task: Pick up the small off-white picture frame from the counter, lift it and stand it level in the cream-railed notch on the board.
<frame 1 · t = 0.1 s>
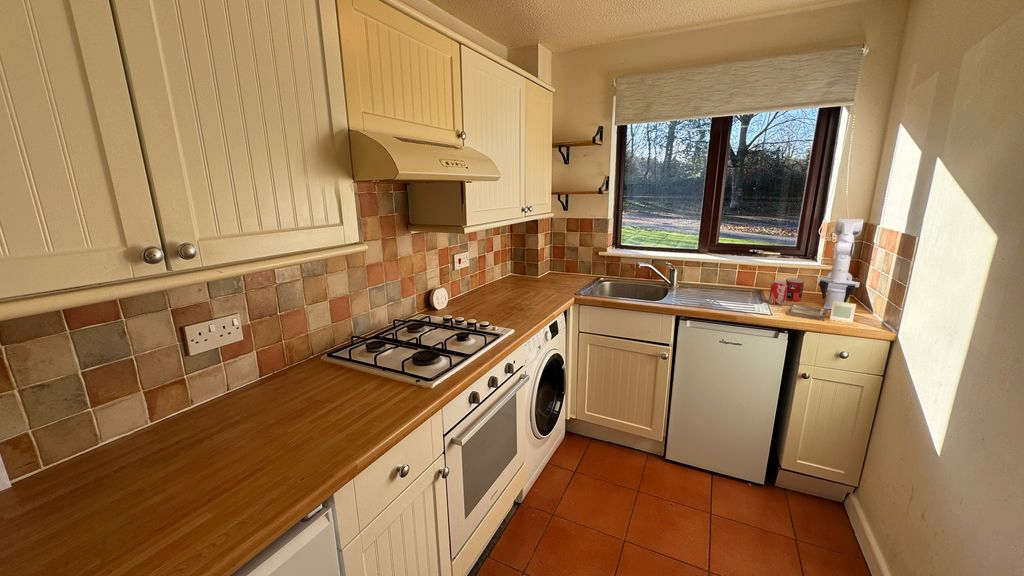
hand: (834, 300, 182), 10 cm above the countertop, tool pointing down, fingers open, 7 cm apart
soda can: (776, 305, 211), on the countertop
picture frame: (841, 320, 186), on the countertop
notched board: (807, 312, 197), on the countertop
pill bottle: (840, 304, 210), on the countertop
canned food: (791, 300, 219), on the countertop
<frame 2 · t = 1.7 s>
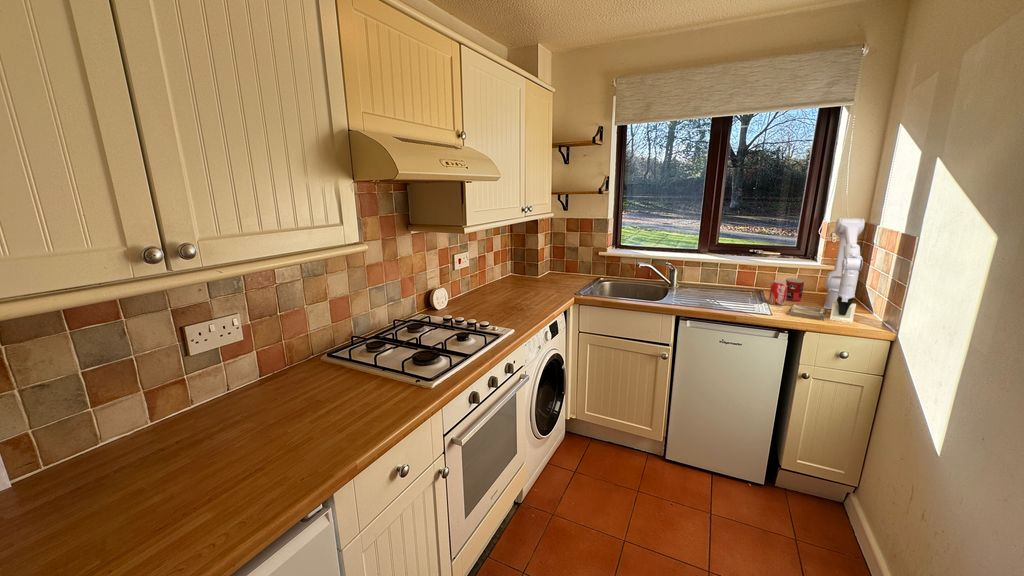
hand: (842, 314, 186), 3 cm above the countertop, tool pointing down, fingers closed on picture frame, 3 cm apart
picture frame: (841, 320, 186), on the countertop, touching gripper
everything else where it was.
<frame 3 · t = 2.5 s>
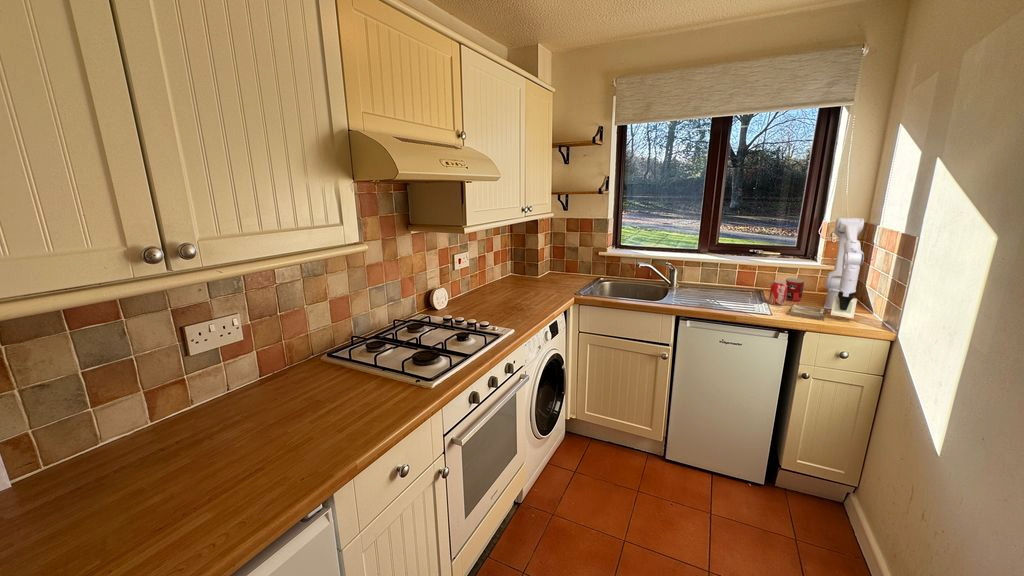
hand: (843, 308, 185), 5 cm above the countertop, tool pointing down, fingers closed on picture frame, 3 cm apart
picture frame: (842, 315, 186), point 2 cm above the countertop, touching gripper
everything else where it was.
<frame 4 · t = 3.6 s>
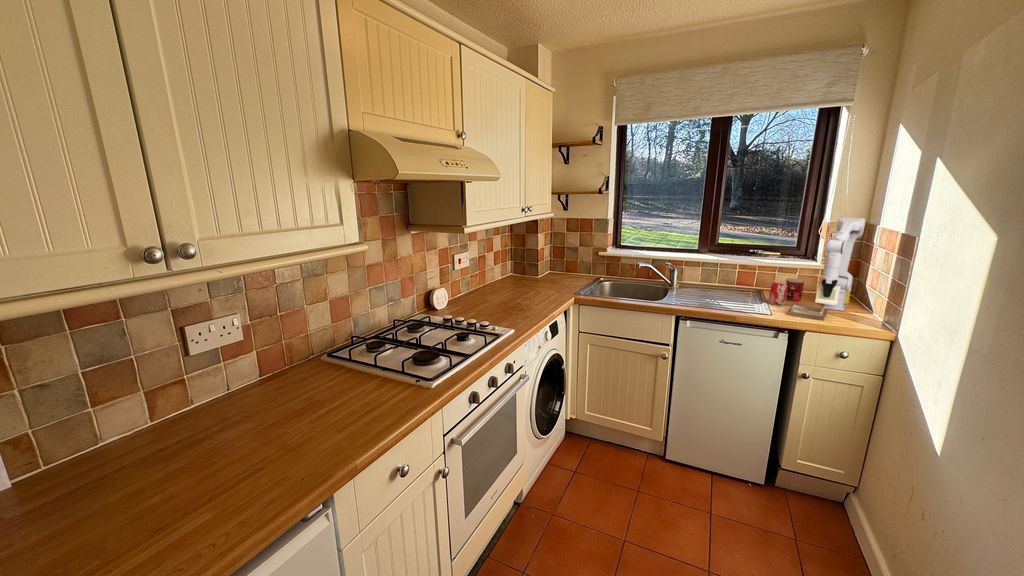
hand: (826, 296, 189), 10 cm above the countertop, tool pointing down, fingers closed on picture frame, 3 cm apart
picture frame: (826, 302, 190), point 7 cm above the countertop, touching gripper
everything else where it was.
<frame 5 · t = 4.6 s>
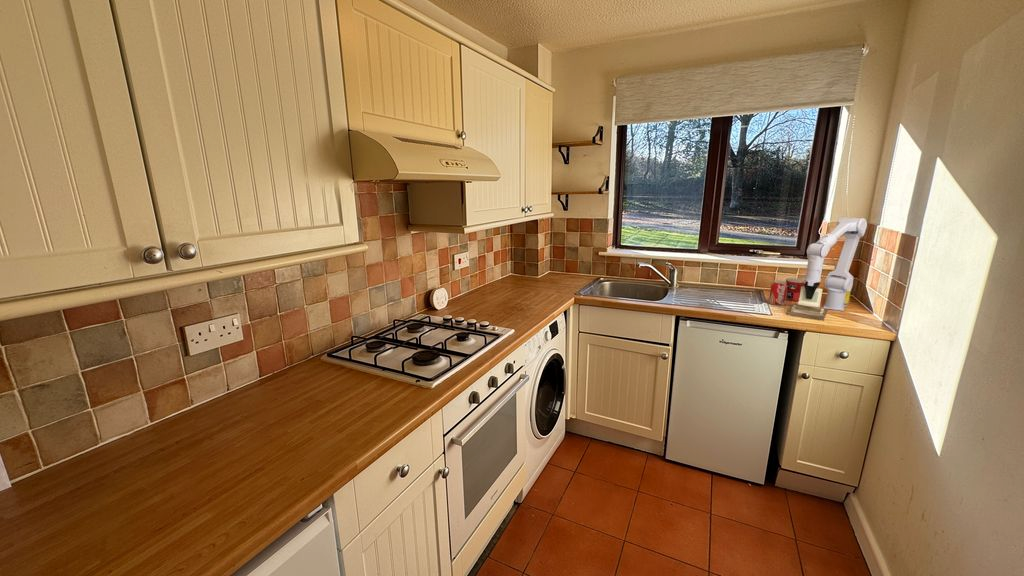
hand: (809, 298, 194), 8 cm above the countertop, tool pointing down, fingers closed on picture frame, 3 cm apart
picture frame: (809, 304, 195), point 4 cm above the countertop, touching gripper
everything else where it was.
when the fingers open (5 cm above the countertop, at t = 5.4 s): picture frame stays where it is, resting on notched board.
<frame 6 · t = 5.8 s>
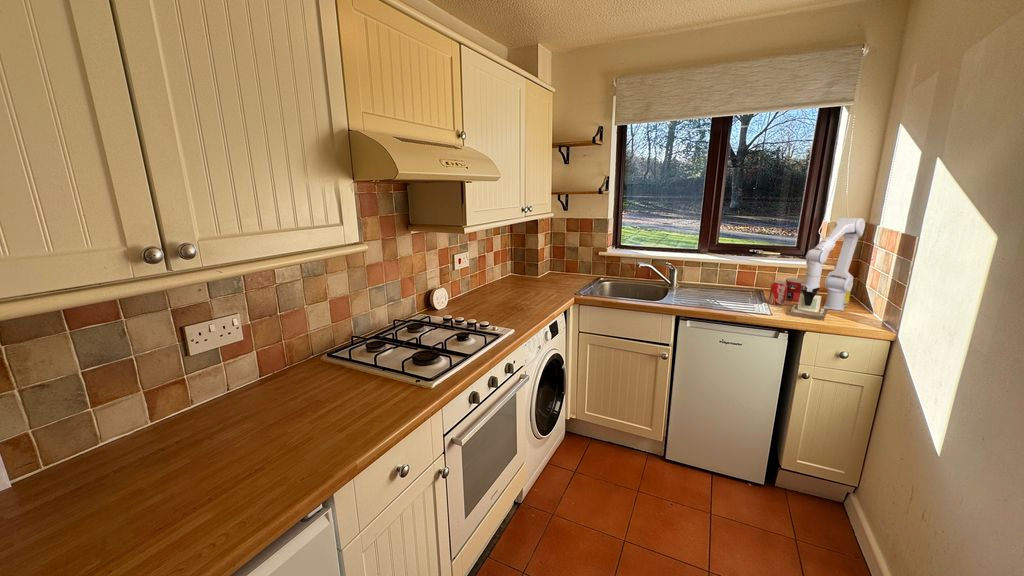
hand: (808, 303, 195), 5 cm above the countertop, tool pointing down, fingers open, 7 cm apart
picture frame: (807, 311, 196), point 1 cm above the countertop, touching notched board
everything else where it was.
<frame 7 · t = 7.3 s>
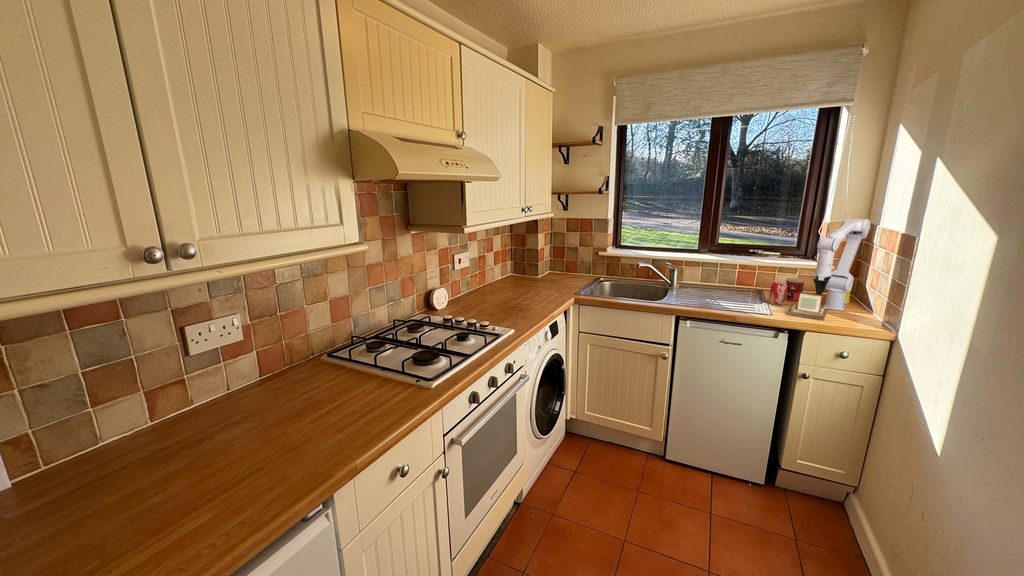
hand: (819, 292, 193), 10 cm above the countertop, tool pointing down, fingers open, 7 cm apart
nothing on the countertop moved.
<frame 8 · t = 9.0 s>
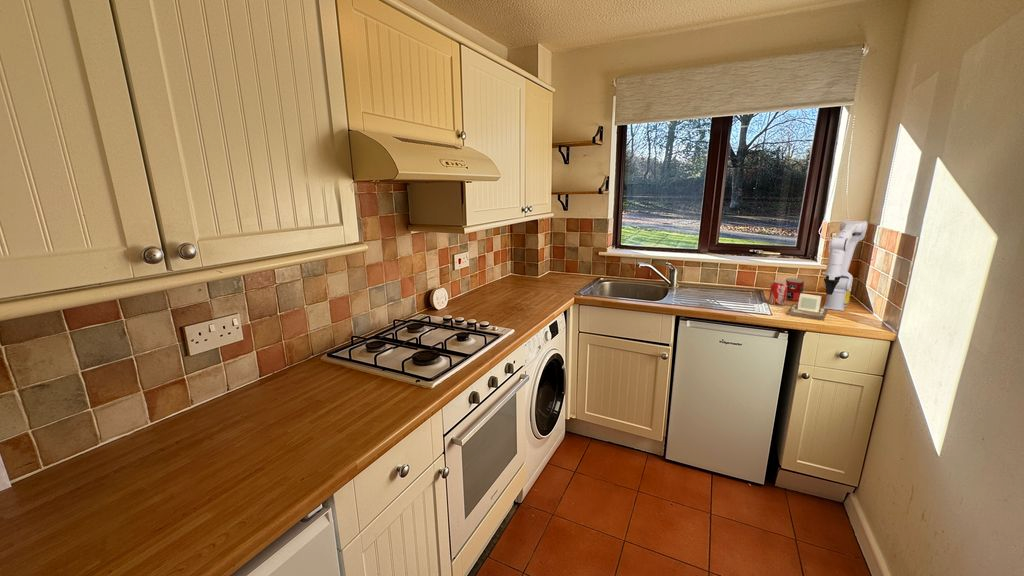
hand: (829, 292, 192), 10 cm above the countertop, tool pointing down, fingers open, 7 cm apart
nothing on the countertop moved.
at the end: picture frame 0.3 cm from the target spot on the notched board, point 1.0 cm above the notched board's base; picture frame tilted 0°; the gripper is holding nothing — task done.
